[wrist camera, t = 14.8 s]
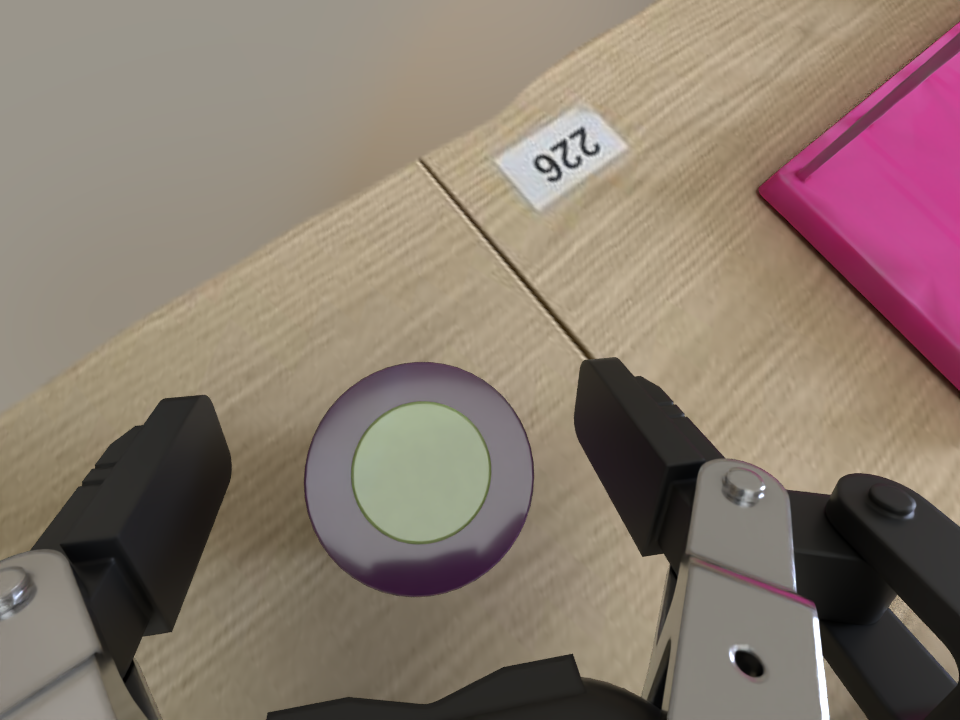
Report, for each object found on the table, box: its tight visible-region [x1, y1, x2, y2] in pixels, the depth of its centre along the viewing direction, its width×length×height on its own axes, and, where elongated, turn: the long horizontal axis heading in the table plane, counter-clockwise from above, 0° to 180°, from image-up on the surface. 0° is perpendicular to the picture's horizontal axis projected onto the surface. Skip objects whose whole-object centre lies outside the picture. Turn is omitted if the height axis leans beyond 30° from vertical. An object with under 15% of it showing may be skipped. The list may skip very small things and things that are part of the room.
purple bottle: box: [304, 362, 534, 597], centre depth 14 cm, size 5×5×11 cm
